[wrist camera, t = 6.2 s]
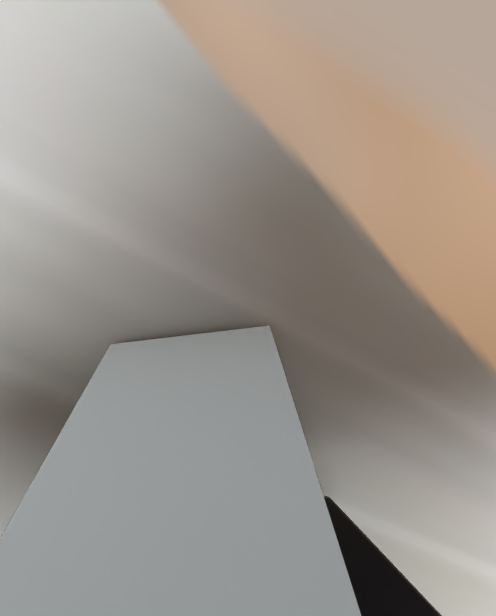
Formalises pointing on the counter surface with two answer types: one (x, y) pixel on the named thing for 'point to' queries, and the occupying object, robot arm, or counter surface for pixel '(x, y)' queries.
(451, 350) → the counter surface
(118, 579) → the end cover
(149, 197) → the counter surface
